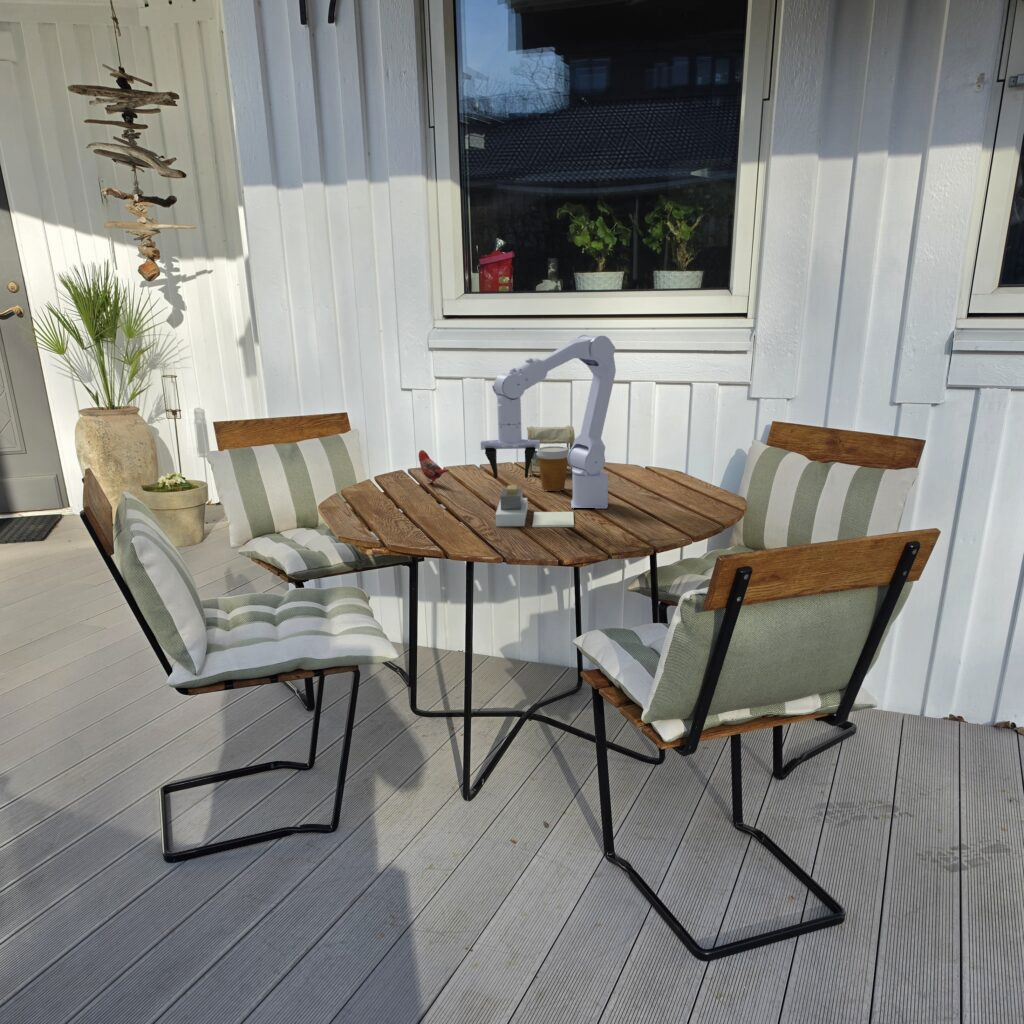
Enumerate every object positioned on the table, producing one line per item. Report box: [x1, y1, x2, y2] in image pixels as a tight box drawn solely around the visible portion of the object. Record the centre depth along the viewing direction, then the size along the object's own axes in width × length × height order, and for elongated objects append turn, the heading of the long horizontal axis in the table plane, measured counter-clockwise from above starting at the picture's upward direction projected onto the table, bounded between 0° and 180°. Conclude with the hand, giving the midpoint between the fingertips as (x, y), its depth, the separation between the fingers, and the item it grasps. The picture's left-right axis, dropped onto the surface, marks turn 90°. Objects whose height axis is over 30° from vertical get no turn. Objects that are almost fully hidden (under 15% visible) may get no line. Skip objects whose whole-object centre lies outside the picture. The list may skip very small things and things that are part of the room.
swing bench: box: [526, 425, 576, 475], centre depth 238 cm, size 15×10×15 cm, turn 91°
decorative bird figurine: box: [418, 449, 450, 485], centre depth 226 cm, size 3×18×10 cm, turn 37°
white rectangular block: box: [495, 484, 529, 527], centre depth 189 cm, size 7×16×6 cm, turn 176°
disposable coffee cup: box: [536, 445, 568, 491], centre depth 216 cm, size 10×10×12 cm
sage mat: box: [531, 511, 575, 528], centre depth 187 cm, size 10×12×1 cm
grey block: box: [499, 484, 524, 510], centre depth 189 cm, size 5×8×4 cm, turn 176°
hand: (511, 477), depth 188 cm, fingers open, 7 cm apart
